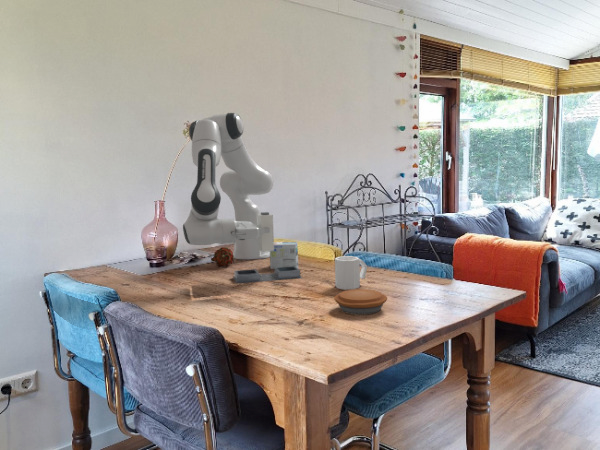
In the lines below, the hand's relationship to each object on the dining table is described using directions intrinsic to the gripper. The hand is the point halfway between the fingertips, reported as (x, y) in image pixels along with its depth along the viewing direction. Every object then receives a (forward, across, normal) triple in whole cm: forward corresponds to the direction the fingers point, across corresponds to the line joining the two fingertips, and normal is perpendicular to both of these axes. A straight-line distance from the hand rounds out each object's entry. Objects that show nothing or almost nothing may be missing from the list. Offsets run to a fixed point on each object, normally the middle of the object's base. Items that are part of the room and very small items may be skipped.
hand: (268, 228), depth 204 cm
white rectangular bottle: (-1, 0, +8) cm, 8 cm away
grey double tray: (-1, +1, +19) cm, 19 cm away
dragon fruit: (-14, +34, +19) cm, 41 cm away
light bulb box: (+9, +16, +19) cm, 27 cm away
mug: (+25, -19, +19) cm, 37 cm away
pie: (+19, -47, +19) cm, 54 cm away
